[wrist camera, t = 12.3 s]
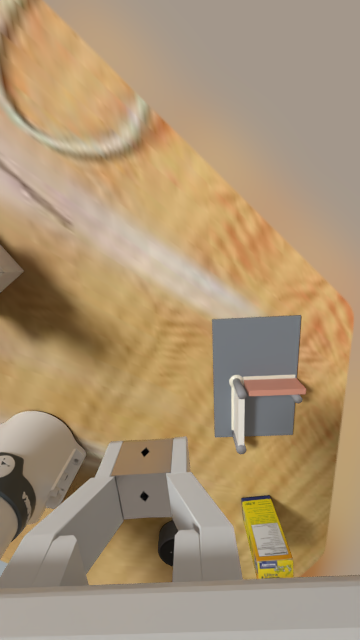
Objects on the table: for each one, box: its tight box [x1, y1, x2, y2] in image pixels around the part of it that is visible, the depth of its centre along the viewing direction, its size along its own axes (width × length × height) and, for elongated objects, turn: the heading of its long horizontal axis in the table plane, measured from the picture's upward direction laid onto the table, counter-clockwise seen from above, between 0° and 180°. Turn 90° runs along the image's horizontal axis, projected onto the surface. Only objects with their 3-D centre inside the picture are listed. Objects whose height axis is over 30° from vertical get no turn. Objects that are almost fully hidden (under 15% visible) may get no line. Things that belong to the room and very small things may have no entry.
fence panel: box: [244, 378, 306, 396], centre depth 40 cm, size 9×1×4 cm, turn 93°
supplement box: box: [241, 496, 293, 579], centre depth 44 cm, size 6×6×11 cm
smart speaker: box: [158, 521, 178, 566], centre depth 50 cm, size 9×9×4 cm
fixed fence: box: [232, 378, 302, 454], centre depth 41 cm, size 12×10×5 cm
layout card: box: [212, 315, 301, 437], centre depth 42 cm, size 23×14×1 cm, turn 3°
